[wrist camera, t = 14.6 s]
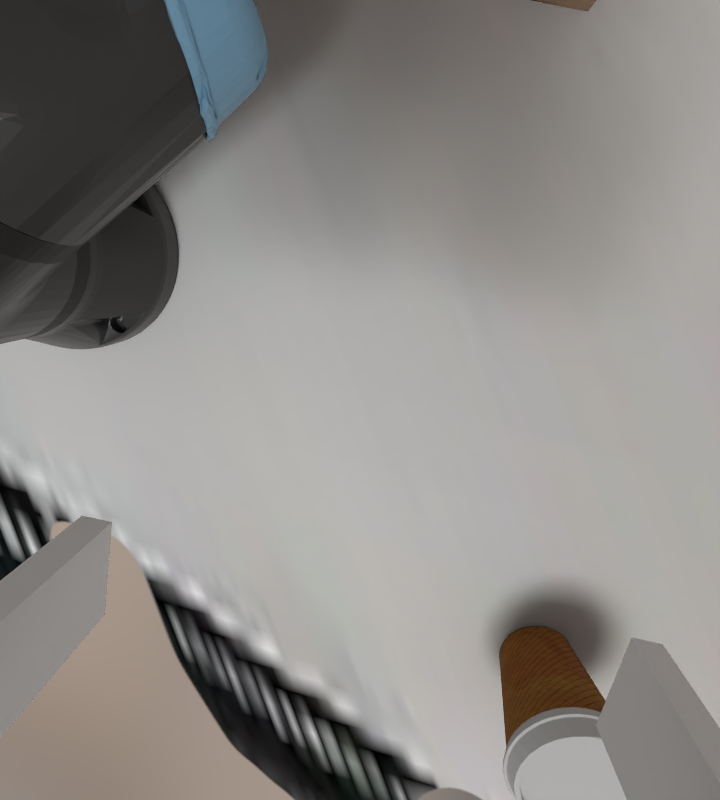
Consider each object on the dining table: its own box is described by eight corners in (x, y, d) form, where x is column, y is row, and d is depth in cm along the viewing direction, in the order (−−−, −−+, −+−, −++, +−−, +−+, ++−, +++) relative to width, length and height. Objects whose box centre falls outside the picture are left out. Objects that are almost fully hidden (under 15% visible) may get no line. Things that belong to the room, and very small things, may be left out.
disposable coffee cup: (609, 629, 45) (680, 757, 33) (564, 712, 47) (616, 858, 36) (504, 595, 45) (539, 711, 33) (465, 680, 47) (485, 816, 36)
